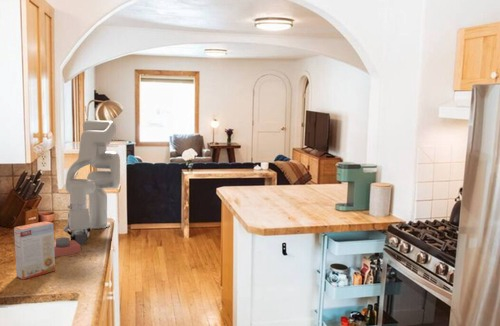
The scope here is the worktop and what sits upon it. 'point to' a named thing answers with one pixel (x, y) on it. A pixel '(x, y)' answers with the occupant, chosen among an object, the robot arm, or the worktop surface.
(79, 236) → the gray rectangular box
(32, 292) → the worktop surface
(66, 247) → the pink two-prong plug
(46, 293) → the worktop surface
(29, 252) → the cracker box
